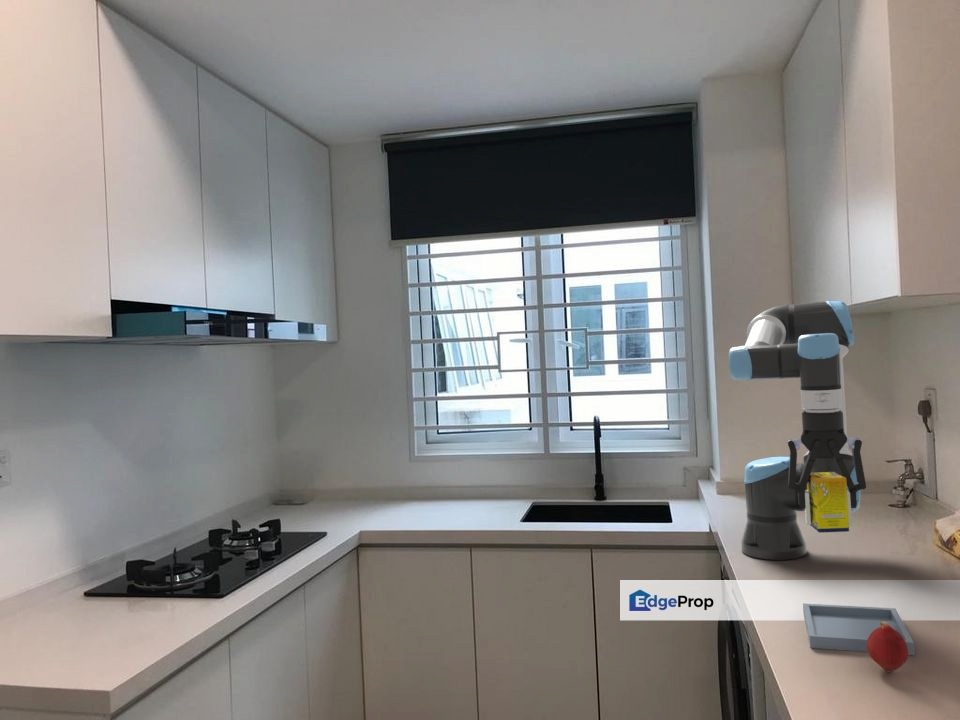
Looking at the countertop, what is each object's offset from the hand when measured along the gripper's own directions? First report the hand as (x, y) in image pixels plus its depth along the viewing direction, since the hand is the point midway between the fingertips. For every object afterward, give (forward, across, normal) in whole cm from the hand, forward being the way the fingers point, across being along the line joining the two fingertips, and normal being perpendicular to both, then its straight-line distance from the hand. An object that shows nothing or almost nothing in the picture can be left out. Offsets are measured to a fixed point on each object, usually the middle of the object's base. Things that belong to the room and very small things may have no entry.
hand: (828, 523), depth 148 cm
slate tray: (+16, +2, -16) cm, 23 cm away
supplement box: (+1, 0, 0) cm, 1 cm away
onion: (+16, +5, -31) cm, 35 cm away
